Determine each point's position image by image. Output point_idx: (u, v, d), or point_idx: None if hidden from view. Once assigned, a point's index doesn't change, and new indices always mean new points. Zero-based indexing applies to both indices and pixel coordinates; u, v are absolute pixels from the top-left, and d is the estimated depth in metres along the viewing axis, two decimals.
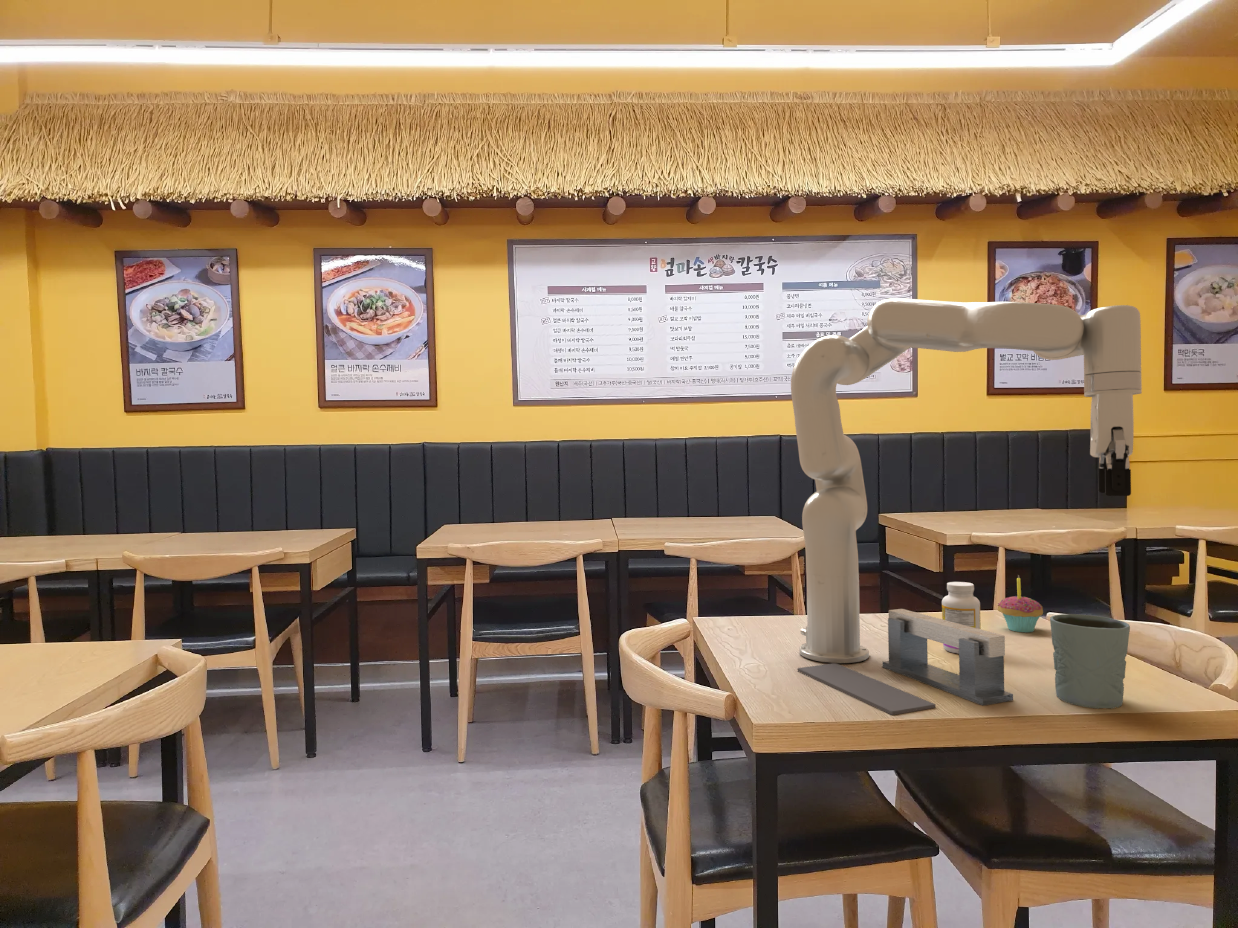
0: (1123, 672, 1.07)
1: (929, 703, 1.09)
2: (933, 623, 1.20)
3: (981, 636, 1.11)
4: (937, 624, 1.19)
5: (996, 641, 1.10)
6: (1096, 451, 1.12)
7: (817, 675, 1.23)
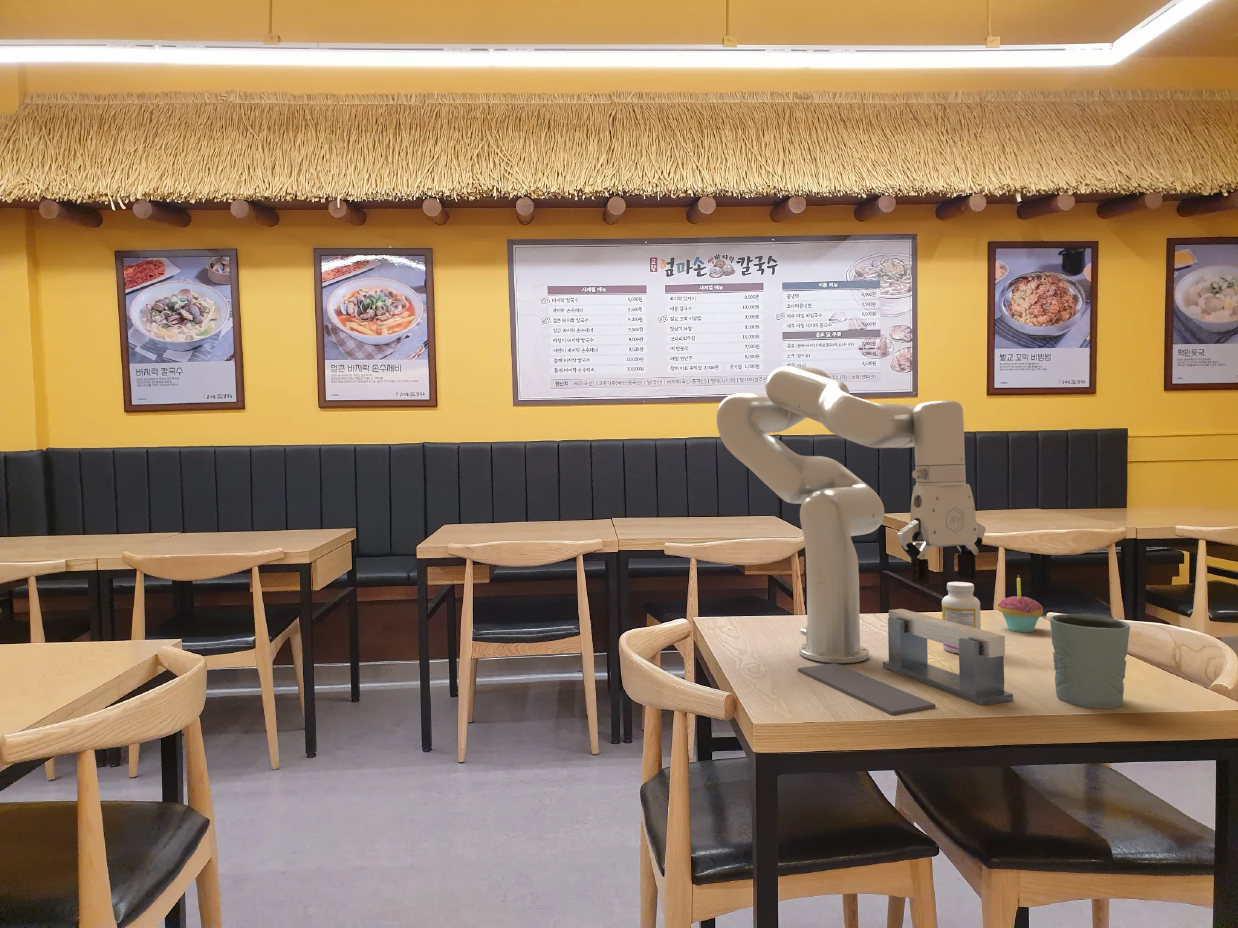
0: (1123, 672, 1.07)
1: (929, 703, 1.09)
2: (933, 623, 1.20)
3: (981, 636, 1.11)
4: (937, 624, 1.19)
5: (996, 641, 1.10)
6: (976, 538, 1.19)
7: (817, 675, 1.23)
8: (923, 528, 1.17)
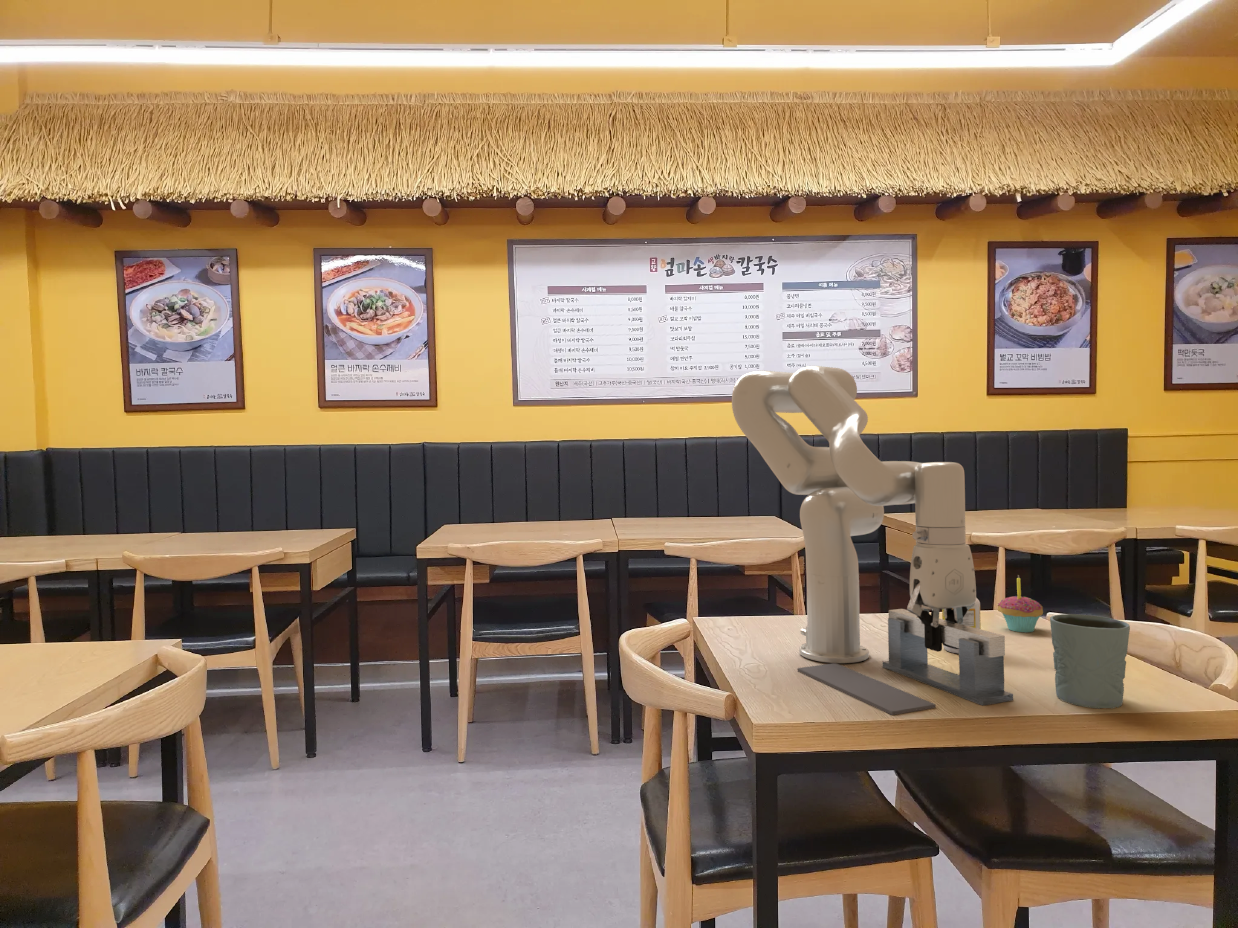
0: (1123, 672, 1.07)
1: (929, 703, 1.09)
2: None
3: (981, 636, 1.11)
4: None
5: (996, 641, 1.10)
6: (974, 600, 1.19)
7: (817, 675, 1.23)
8: (922, 590, 1.17)
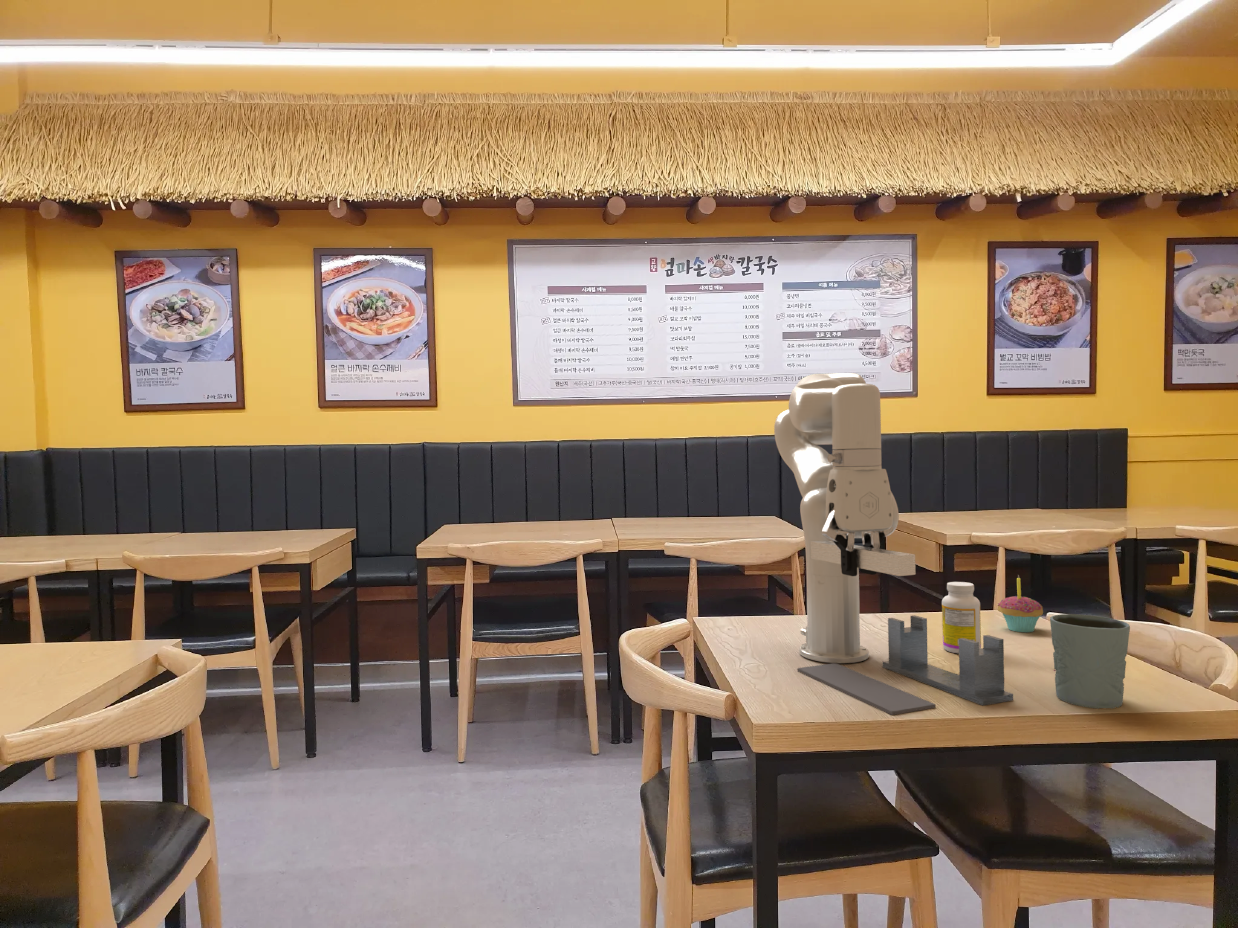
0: (1123, 672, 1.07)
1: (929, 703, 1.09)
2: None
3: (891, 555, 1.08)
4: (853, 549, 1.17)
5: (906, 560, 1.07)
6: (891, 524, 1.17)
7: (817, 675, 1.23)
8: (836, 513, 1.15)
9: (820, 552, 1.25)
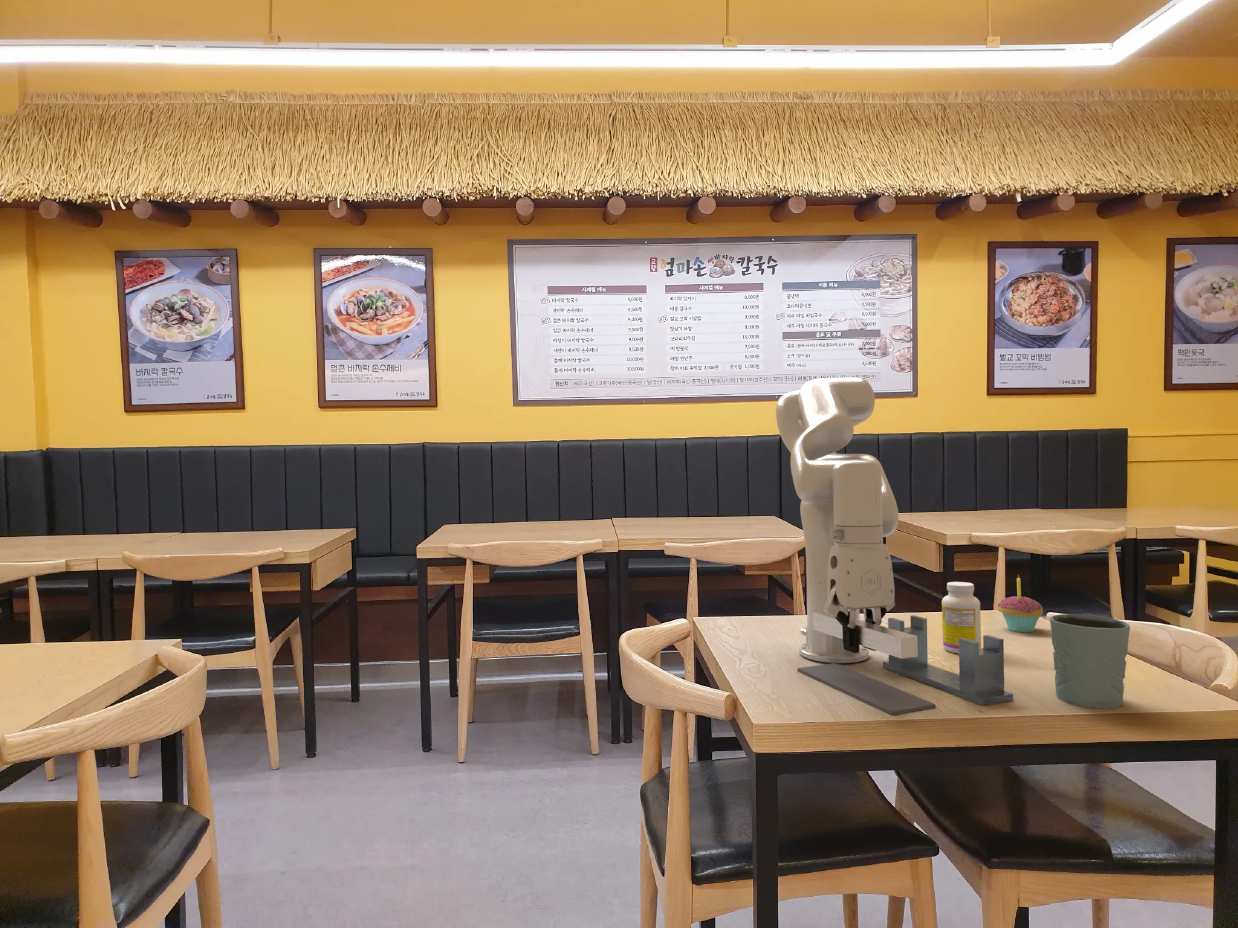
0: (1123, 672, 1.07)
1: (929, 703, 1.09)
2: None
3: (893, 637, 1.08)
4: (855, 625, 1.17)
5: (908, 642, 1.07)
6: (893, 600, 1.17)
7: (817, 675, 1.23)
8: (837, 590, 1.15)
9: (822, 624, 1.25)
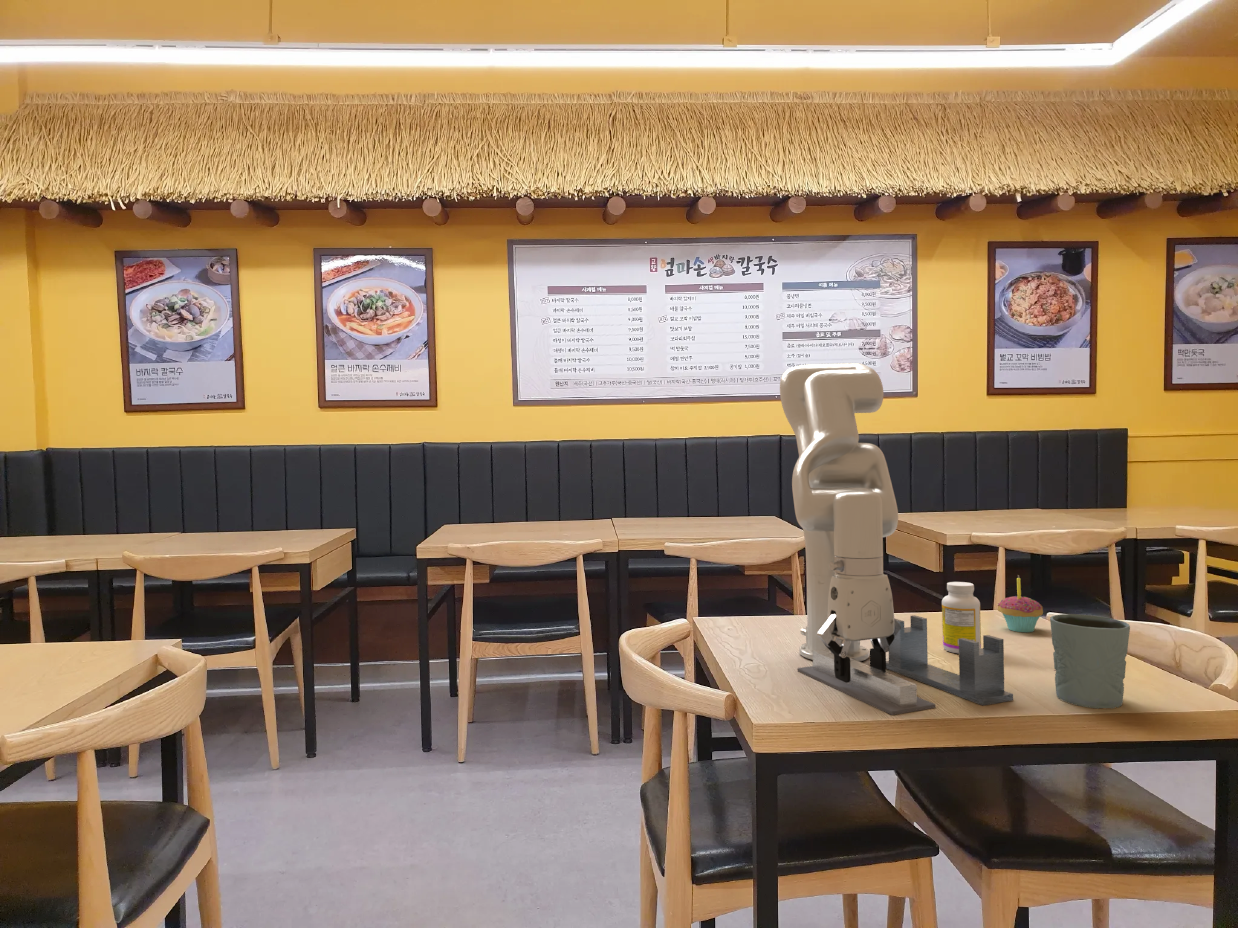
0: (1123, 672, 1.07)
1: (929, 703, 1.09)
2: (851, 667, 1.18)
3: (893, 684, 1.09)
4: (855, 669, 1.17)
5: (908, 690, 1.08)
6: (893, 631, 1.17)
7: (817, 675, 1.23)
8: (838, 621, 1.15)
9: (822, 664, 1.25)
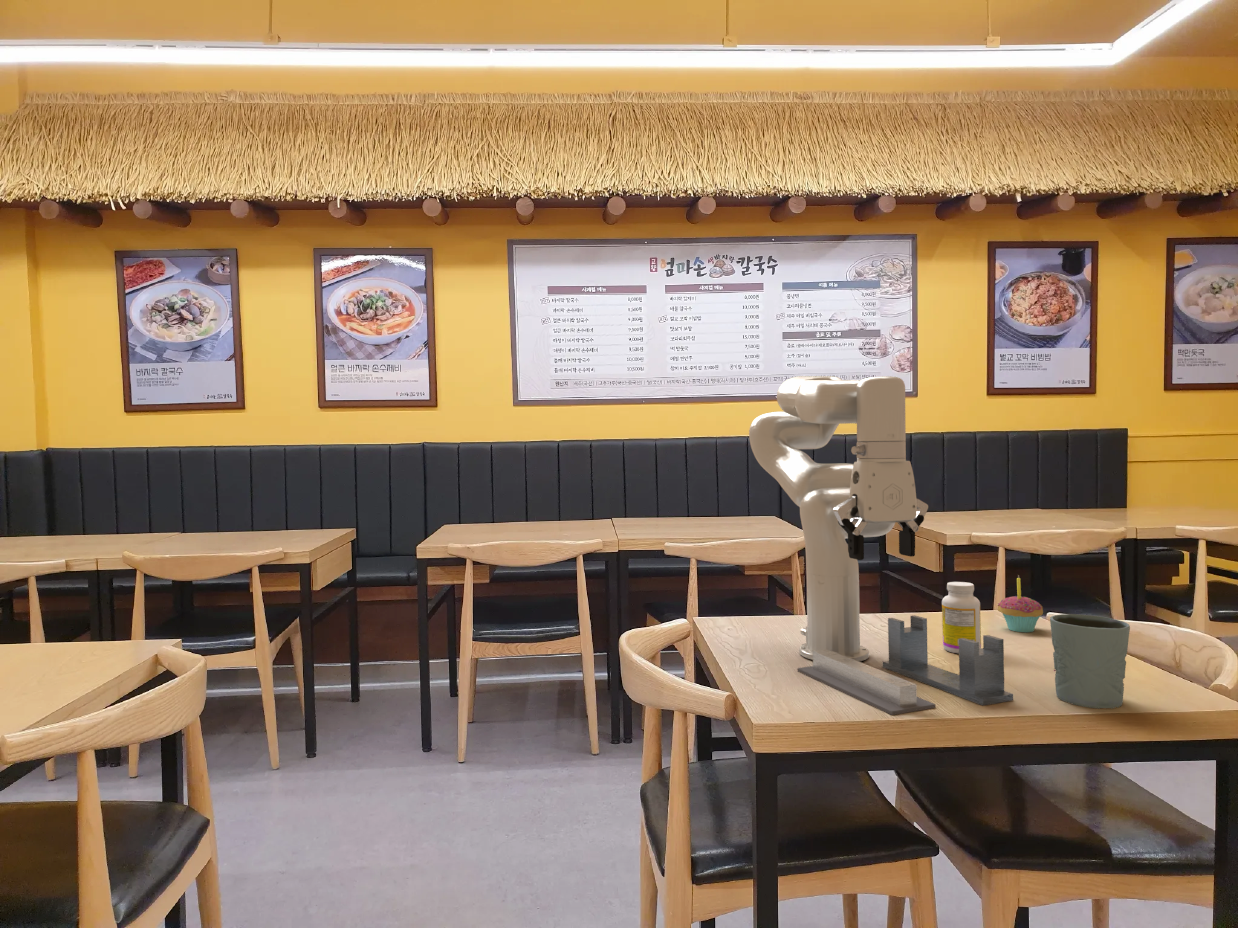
0: (1123, 672, 1.07)
1: (929, 703, 1.09)
2: (851, 667, 1.18)
3: (893, 684, 1.09)
4: (855, 669, 1.17)
5: (908, 690, 1.08)
6: (915, 516, 1.18)
7: (817, 675, 1.23)
8: (859, 504, 1.17)
9: (822, 664, 1.25)
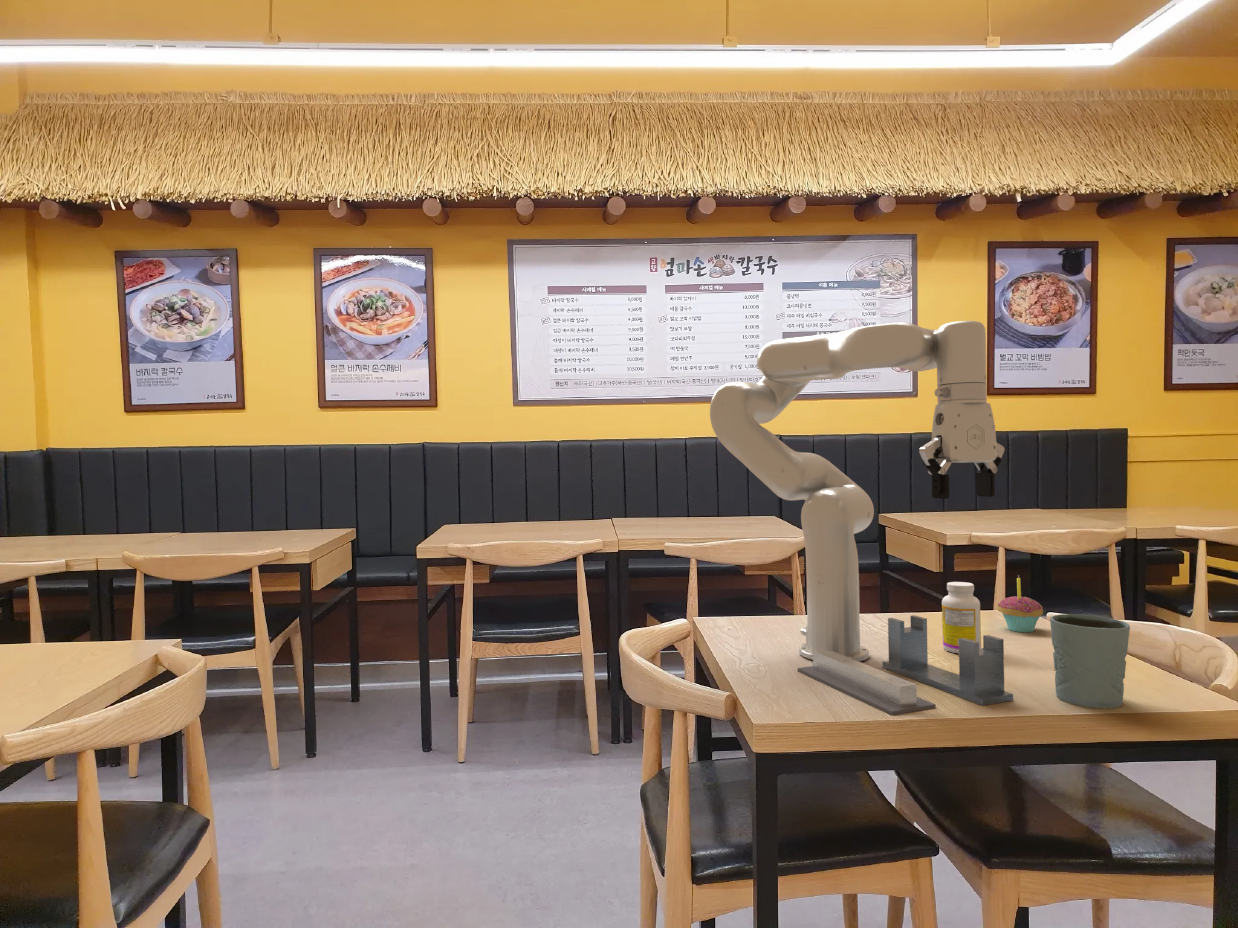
0: (1123, 672, 1.07)
1: (929, 703, 1.09)
2: (851, 667, 1.18)
3: (893, 684, 1.09)
4: (855, 669, 1.17)
5: (908, 690, 1.08)
6: (995, 456, 1.22)
7: (817, 675, 1.23)
8: (944, 444, 1.20)
9: (822, 664, 1.25)
